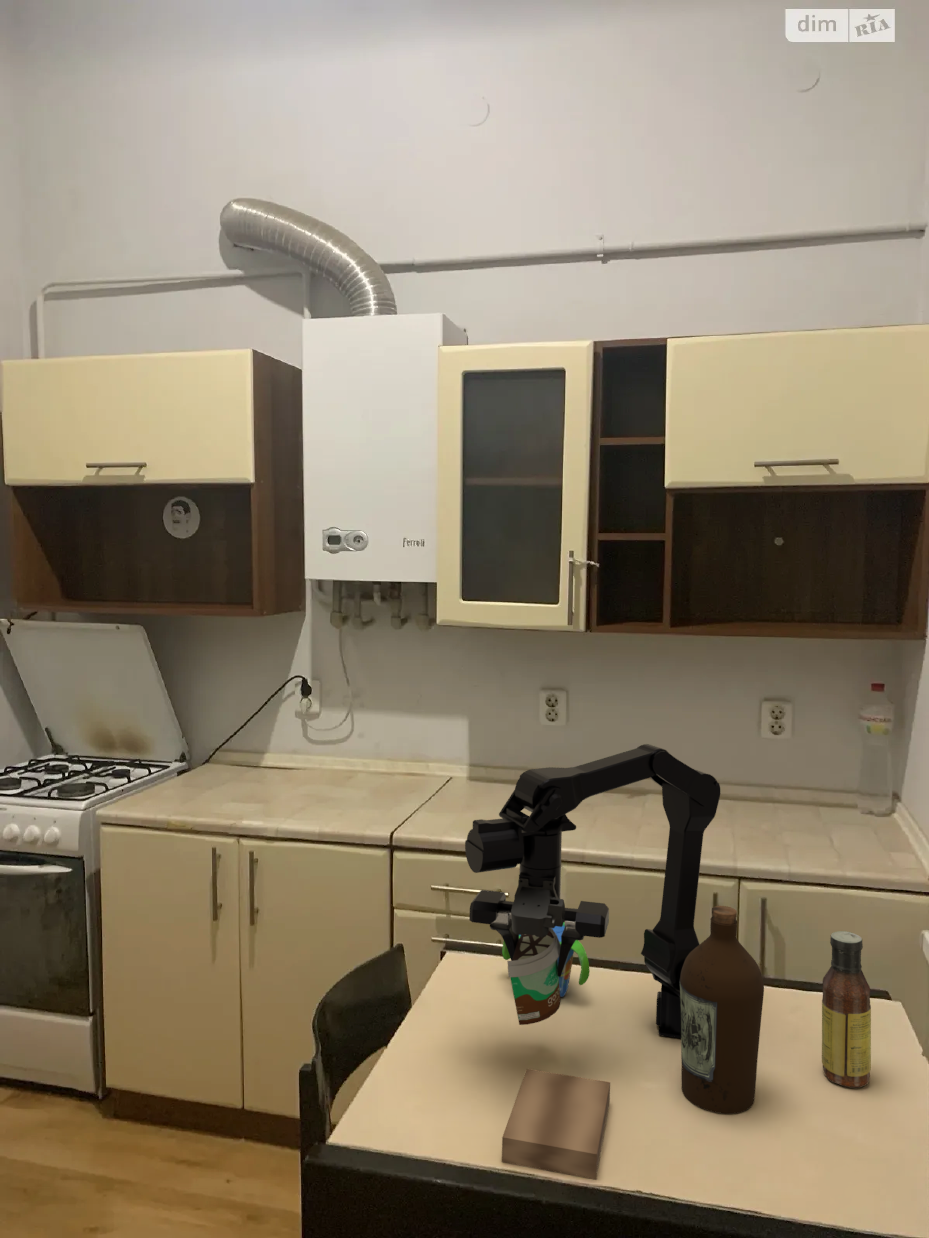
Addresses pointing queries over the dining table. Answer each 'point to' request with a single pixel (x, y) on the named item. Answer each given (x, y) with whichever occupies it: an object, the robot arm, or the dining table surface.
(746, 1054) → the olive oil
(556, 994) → the food container
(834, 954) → the sauce bottle
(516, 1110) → the base board
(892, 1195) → the dining table surface
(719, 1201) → the dining table surface
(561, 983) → the snack cup
